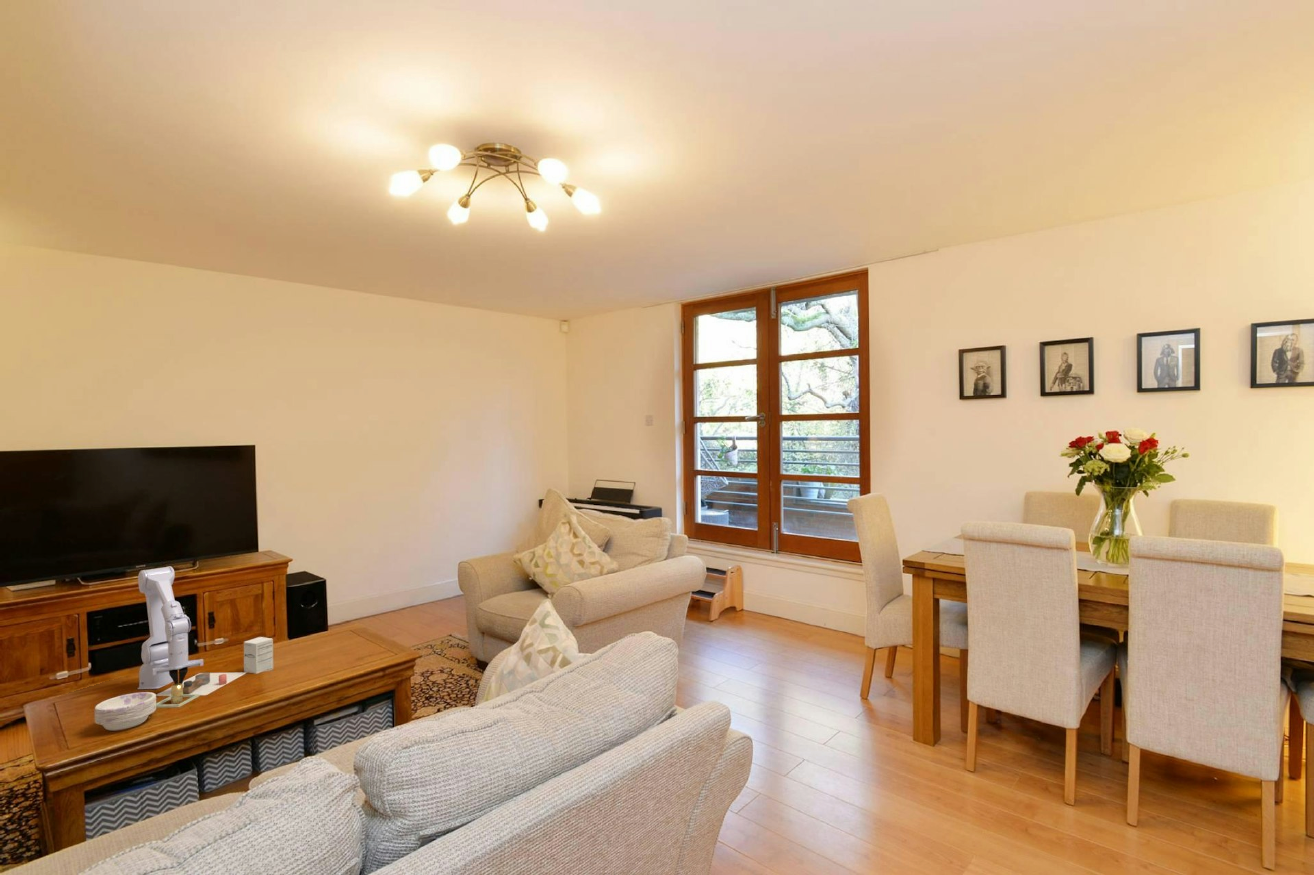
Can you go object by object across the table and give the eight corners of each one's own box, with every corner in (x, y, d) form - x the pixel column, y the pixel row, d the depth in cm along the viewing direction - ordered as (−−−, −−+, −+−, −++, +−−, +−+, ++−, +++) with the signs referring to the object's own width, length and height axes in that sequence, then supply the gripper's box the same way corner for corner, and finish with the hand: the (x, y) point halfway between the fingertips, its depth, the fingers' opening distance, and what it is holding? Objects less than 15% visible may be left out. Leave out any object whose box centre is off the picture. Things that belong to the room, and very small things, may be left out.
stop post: (217, 685, 231) (217, 676, 231) (221, 682, 234) (221, 674, 234) (223, 685, 231) (223, 676, 231) (228, 682, 234) (228, 674, 234)
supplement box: (243, 673, 245) (242, 641, 245) (261, 667, 252) (260, 636, 252) (256, 676, 242) (255, 643, 242) (274, 669, 249) (273, 638, 249)
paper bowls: (154, 710, 212) (153, 687, 212) (158, 724, 201) (158, 699, 201) (94, 724, 201) (93, 700, 202) (95, 740, 190) (94, 714, 190)
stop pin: (168, 704, 215) (169, 687, 215) (175, 700, 218) (175, 683, 218) (178, 704, 215) (178, 686, 215) (184, 700, 218) (185, 683, 218)
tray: (152, 710, 212) (152, 705, 212) (173, 698, 221) (173, 694, 221) (178, 709, 212) (178, 705, 212) (199, 698, 221) (199, 694, 221)
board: (153, 698, 222) (153, 695, 222) (199, 675, 244) (199, 673, 244) (206, 697, 222) (206, 695, 222) (247, 674, 244) (247, 672, 244)
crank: (199, 681, 235) (199, 670, 235) (212, 680, 236) (212, 669, 236) (178, 694, 222) (178, 684, 222) (192, 693, 223) (192, 683, 223)
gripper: (152, 659, 217) (152, 698, 217) (203, 650, 227) (204, 687, 226) (152, 654, 223) (152, 692, 223) (202, 645, 232) (202, 682, 232)
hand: (178, 689), depth 225 cm, fingers closed
